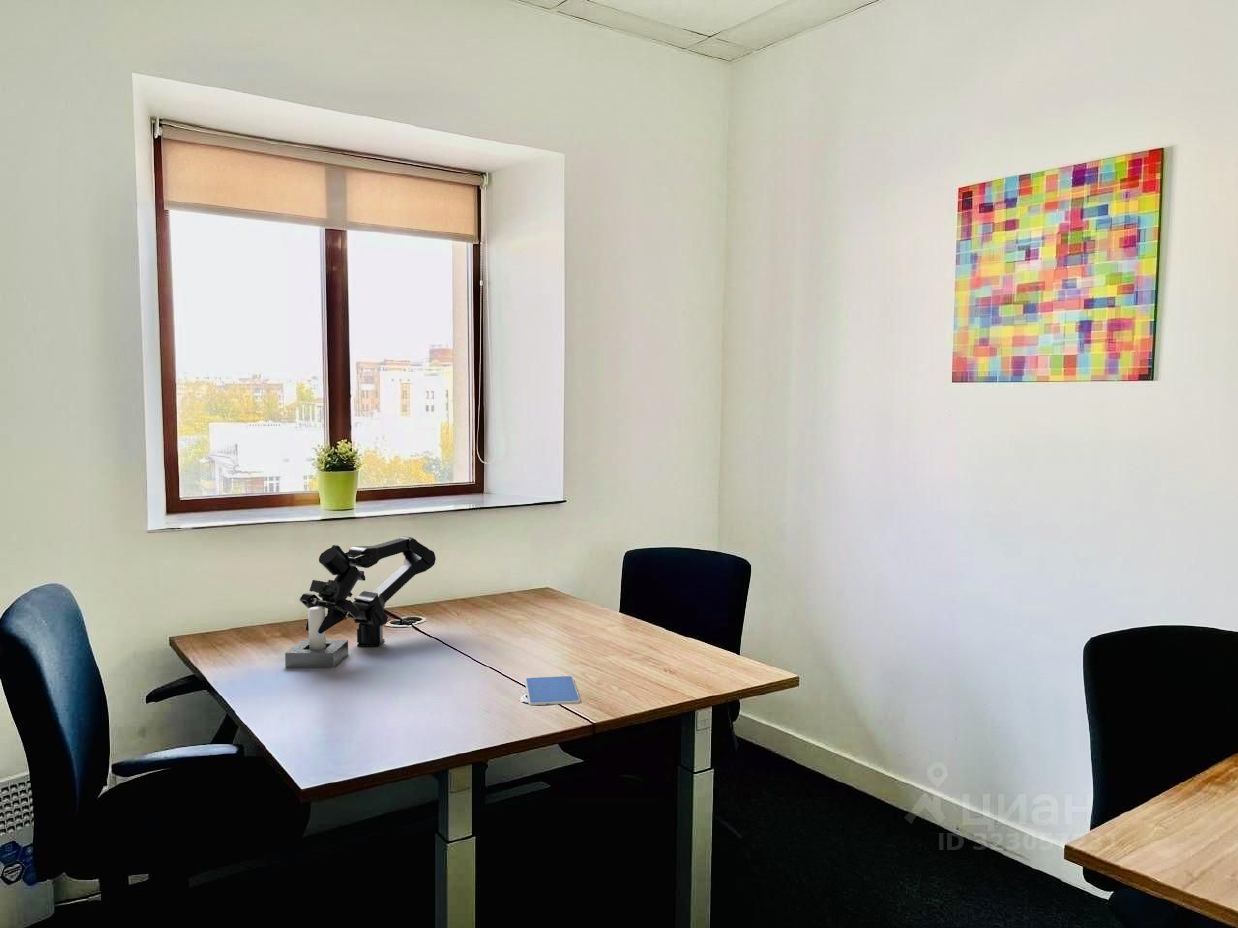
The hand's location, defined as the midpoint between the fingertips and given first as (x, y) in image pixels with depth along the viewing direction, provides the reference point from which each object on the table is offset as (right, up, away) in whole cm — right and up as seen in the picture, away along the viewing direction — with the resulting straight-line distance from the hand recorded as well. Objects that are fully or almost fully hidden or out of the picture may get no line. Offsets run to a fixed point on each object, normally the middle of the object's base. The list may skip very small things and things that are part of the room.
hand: (313, 631), depth 253 cm
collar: (+1, -8, +2) cm, 9 cm away
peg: (+1, -7, +2) cm, 7 cm away
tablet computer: (+67, -11, -23) cm, 72 cm away
